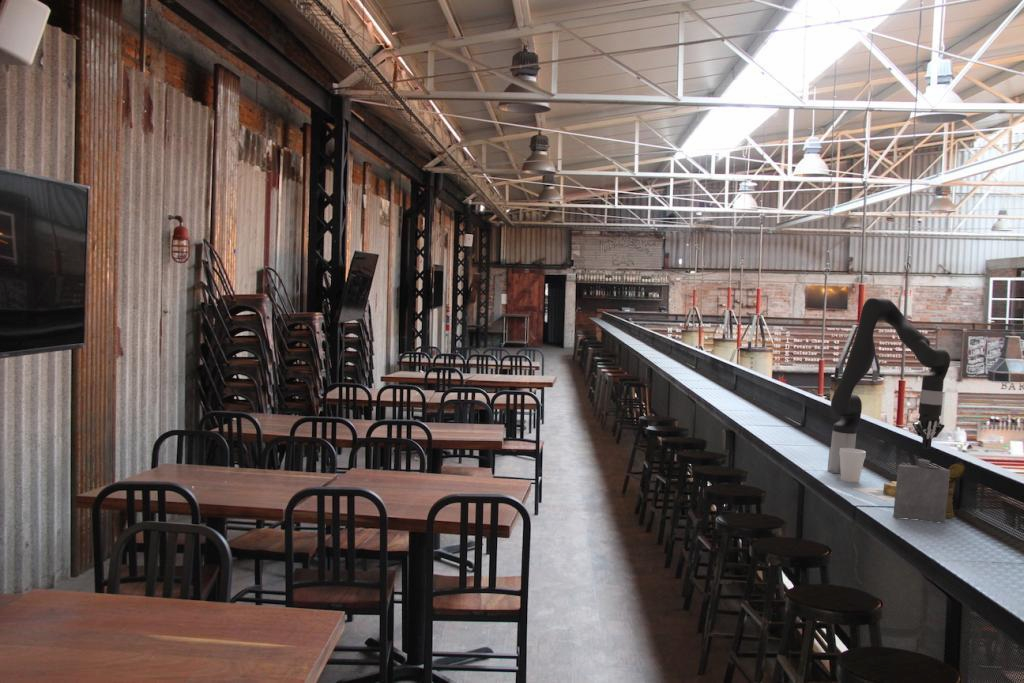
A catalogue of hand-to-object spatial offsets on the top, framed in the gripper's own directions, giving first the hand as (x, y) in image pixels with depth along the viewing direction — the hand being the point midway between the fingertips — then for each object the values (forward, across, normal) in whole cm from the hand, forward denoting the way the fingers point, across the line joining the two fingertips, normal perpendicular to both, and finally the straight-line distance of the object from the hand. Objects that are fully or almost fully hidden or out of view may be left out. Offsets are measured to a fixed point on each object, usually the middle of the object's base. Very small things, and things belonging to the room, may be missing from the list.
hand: (926, 448), depth 296 cm
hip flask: (+19, +27, +28) cm, 43 cm away
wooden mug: (+19, +12, +23) cm, 32 cm away
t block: (+17, +11, 0) cm, 21 cm away
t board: (+18, +15, 0) cm, 24 cm away
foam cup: (+18, +15, -21) cm, 32 cm away
